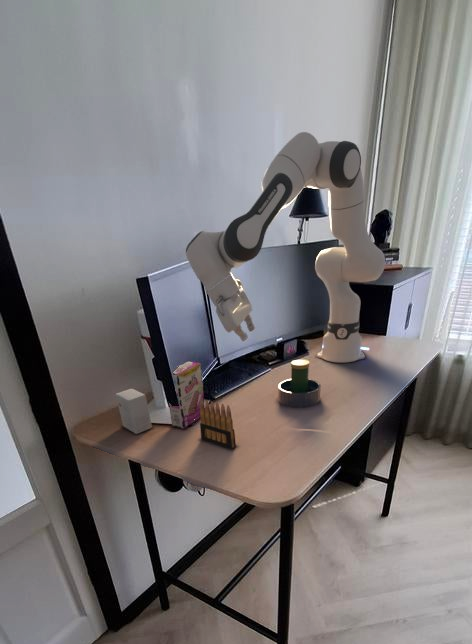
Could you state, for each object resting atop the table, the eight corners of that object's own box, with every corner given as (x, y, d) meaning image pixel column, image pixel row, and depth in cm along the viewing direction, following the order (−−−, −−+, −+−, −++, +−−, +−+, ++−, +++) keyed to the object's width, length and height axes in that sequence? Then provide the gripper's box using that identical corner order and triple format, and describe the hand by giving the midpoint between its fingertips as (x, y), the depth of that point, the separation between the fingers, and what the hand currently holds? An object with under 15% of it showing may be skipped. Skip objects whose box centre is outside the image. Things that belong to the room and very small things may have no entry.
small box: (152, 428, 118) (146, 394, 113) (136, 434, 115) (128, 400, 110) (138, 420, 124) (131, 387, 118) (122, 426, 121) (114, 393, 115)
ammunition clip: (201, 439, 111) (196, 398, 104) (205, 437, 112) (200, 396, 105) (231, 449, 105) (228, 407, 99) (236, 446, 106) (233, 404, 100)
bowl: (282, 391, 136) (282, 377, 134) (321, 393, 133) (322, 379, 130) (274, 407, 126) (274, 392, 123) (317, 410, 123) (318, 394, 120)
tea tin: (292, 395, 132) (292, 359, 125) (308, 396, 131) (310, 359, 124) (289, 402, 128) (289, 364, 121) (306, 403, 126) (307, 365, 120)
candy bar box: (185, 429, 116) (177, 374, 107) (171, 426, 119) (163, 372, 110) (207, 414, 124) (201, 362, 115) (194, 412, 126) (187, 360, 117)
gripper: (223, 295, 108) (250, 340, 113) (241, 279, 123) (264, 320, 129) (205, 307, 111) (232, 351, 116) (225, 290, 127) (248, 330, 132)
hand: (249, 334), depth 123 cm, fingers open, 8 cm apart
